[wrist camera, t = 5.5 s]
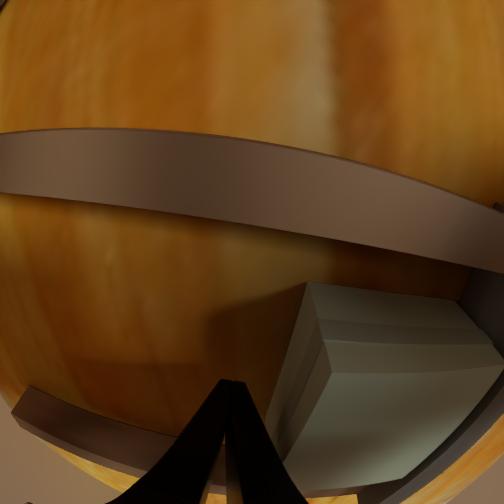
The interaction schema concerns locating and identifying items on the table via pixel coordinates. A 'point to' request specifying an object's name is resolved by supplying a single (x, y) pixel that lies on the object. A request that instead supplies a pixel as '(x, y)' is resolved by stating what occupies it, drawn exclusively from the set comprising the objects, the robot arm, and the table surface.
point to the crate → (374, 384)
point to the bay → (266, 215)
